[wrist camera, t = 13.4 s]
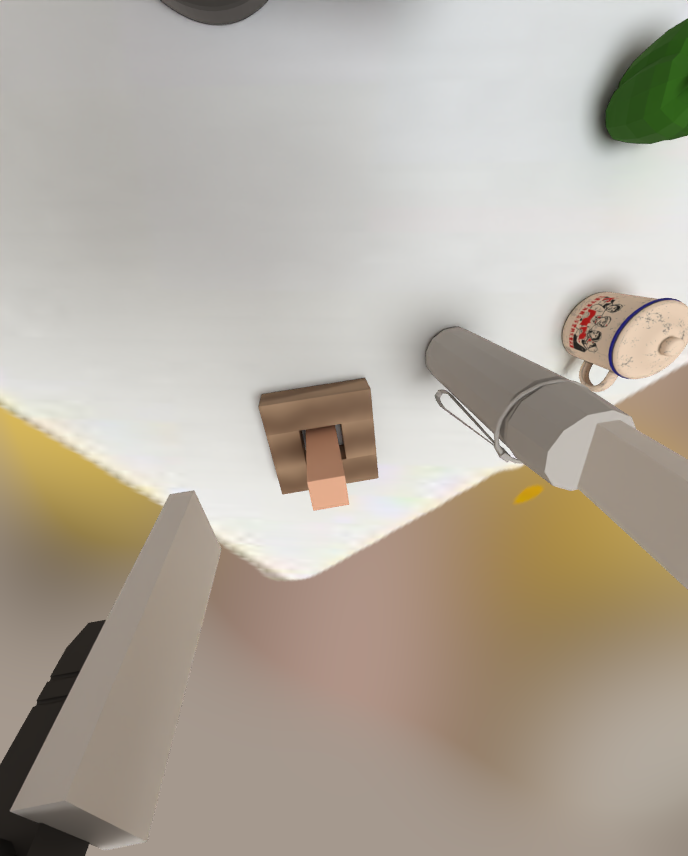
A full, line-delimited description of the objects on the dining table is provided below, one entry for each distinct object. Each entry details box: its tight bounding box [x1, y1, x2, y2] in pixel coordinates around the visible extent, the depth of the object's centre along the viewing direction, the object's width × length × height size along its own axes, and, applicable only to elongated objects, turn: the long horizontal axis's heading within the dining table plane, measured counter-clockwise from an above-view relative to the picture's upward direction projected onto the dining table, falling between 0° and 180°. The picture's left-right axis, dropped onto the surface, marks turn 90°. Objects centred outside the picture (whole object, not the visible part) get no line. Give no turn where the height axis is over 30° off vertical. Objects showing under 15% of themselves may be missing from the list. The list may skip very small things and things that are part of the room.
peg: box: [306, 425, 349, 511], centre depth 42 cm, size 4×4×14 cm
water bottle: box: [426, 327, 636, 491], centre depth 34 cm, size 9×8×25 cm
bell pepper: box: [606, 19, 688, 144], centre depth 30 cm, size 8×8×10 cm
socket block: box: [259, 378, 378, 494], centre depth 46 cm, size 14×14×4 cm
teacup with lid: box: [563, 292, 688, 392], centre depth 41 cm, size 12×9×12 cm
